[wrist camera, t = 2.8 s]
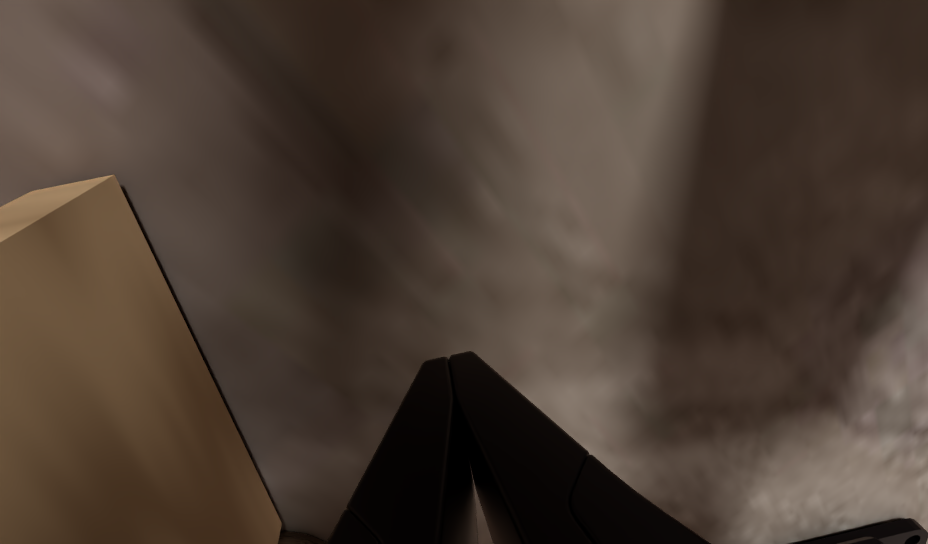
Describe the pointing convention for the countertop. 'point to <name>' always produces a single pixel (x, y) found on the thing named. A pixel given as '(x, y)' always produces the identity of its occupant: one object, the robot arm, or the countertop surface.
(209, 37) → the countertop surface
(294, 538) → the hinge post
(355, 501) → the robot arm
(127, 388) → the gate
